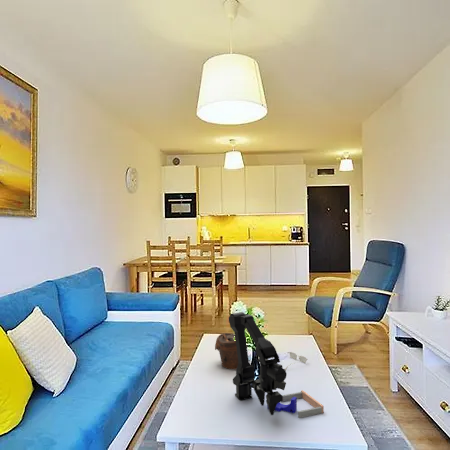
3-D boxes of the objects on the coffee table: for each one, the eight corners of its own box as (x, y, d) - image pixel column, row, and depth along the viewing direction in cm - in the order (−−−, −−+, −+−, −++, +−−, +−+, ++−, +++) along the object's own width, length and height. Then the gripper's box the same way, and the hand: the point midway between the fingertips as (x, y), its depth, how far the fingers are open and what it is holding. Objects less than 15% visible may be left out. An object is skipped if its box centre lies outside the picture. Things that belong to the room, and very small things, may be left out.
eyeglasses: (308, 364, 232) (307, 358, 232) (284, 372, 222) (284, 364, 222) (289, 357, 245) (289, 351, 245) (266, 364, 234) (266, 357, 234)
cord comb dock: (299, 417, 170) (299, 410, 170) (280, 400, 186) (280, 394, 186) (323, 412, 174) (323, 405, 174) (302, 396, 190) (302, 390, 190)
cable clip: (267, 409, 179) (267, 395, 179) (271, 404, 183) (271, 391, 183) (293, 415, 173) (292, 401, 173) (296, 410, 177) (296, 397, 177)
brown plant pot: (217, 358, 242) (216, 329, 242) (250, 359, 240) (250, 330, 240) (213, 370, 225) (212, 338, 224) (249, 371, 223) (248, 339, 222)
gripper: (294, 379, 168) (294, 416, 168) (273, 364, 186) (273, 397, 186) (270, 383, 164) (270, 421, 165) (251, 367, 182) (251, 402, 182)
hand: (267, 410), depth 174 cm, fingers open, 9 cm apart
